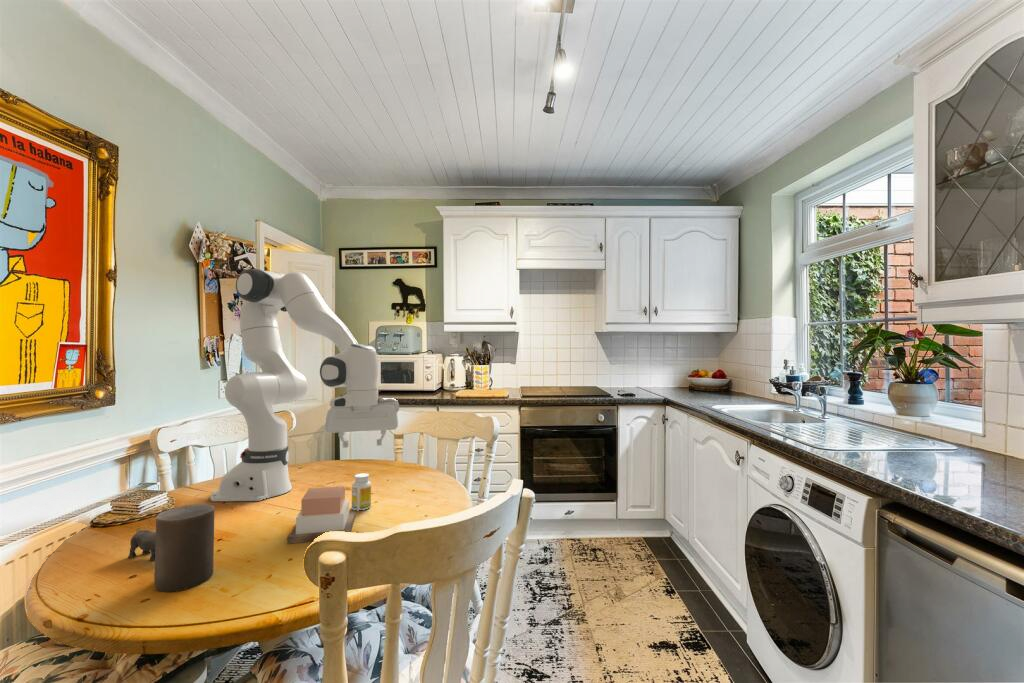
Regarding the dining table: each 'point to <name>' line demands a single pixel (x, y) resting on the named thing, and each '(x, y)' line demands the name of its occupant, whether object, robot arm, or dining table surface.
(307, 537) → the baseplate
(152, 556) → the rhino figurine
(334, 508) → the pink white stepped block
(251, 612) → the dining table surface
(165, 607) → the dining table surface
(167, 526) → the pillar candle
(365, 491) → the supplement bottle
